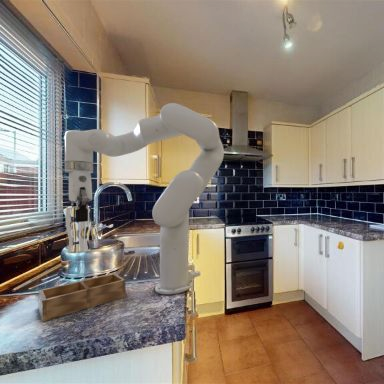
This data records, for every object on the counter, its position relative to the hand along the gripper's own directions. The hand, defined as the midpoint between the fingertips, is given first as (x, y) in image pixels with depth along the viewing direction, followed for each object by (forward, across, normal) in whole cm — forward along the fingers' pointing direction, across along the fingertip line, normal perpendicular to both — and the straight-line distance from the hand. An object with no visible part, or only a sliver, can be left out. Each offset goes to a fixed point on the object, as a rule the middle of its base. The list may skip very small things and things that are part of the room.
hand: (79, 220), depth 77 cm
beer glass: (+10, 0, 0) cm, 10 cm away
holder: (+24, -9, 0) cm, 26 cm away
